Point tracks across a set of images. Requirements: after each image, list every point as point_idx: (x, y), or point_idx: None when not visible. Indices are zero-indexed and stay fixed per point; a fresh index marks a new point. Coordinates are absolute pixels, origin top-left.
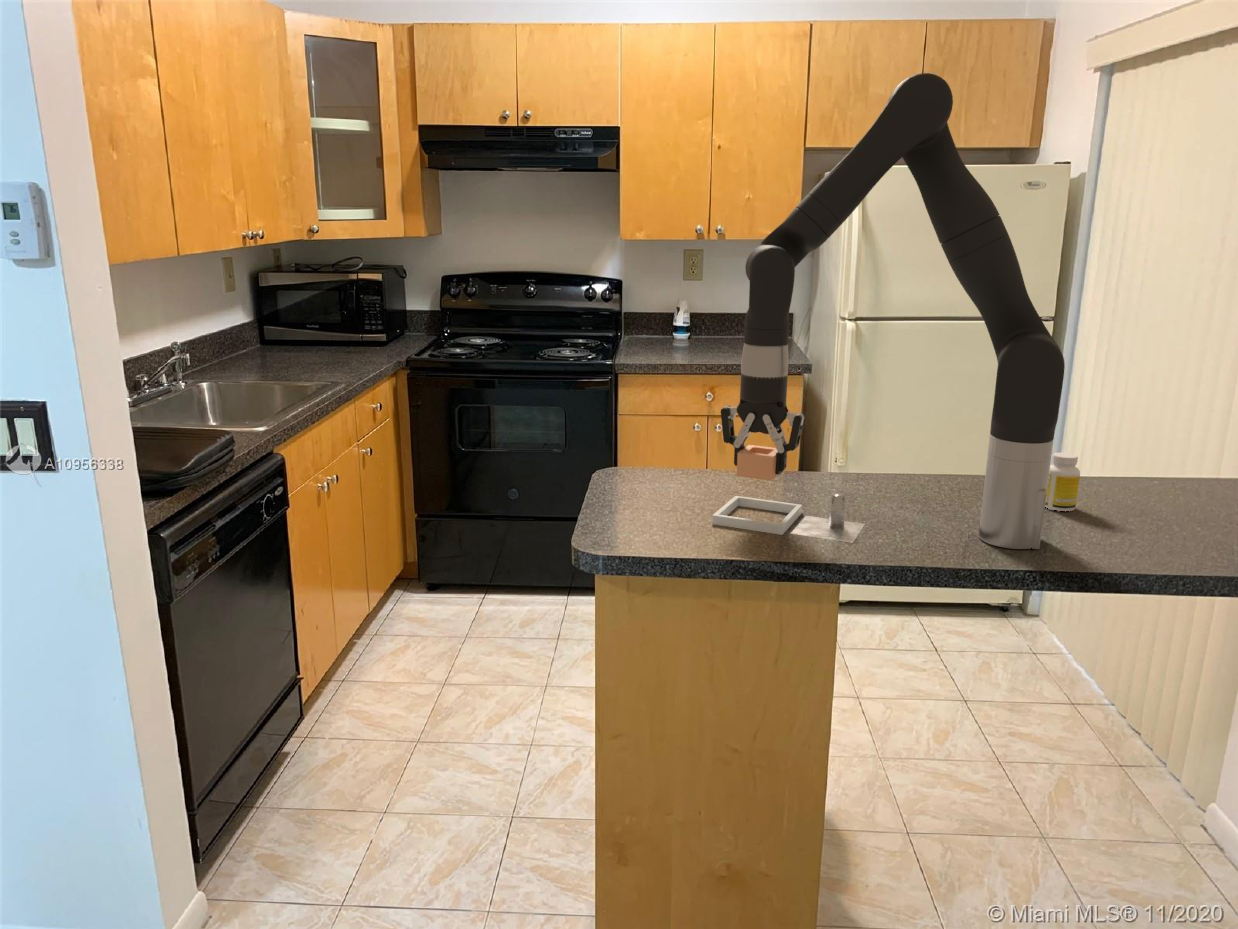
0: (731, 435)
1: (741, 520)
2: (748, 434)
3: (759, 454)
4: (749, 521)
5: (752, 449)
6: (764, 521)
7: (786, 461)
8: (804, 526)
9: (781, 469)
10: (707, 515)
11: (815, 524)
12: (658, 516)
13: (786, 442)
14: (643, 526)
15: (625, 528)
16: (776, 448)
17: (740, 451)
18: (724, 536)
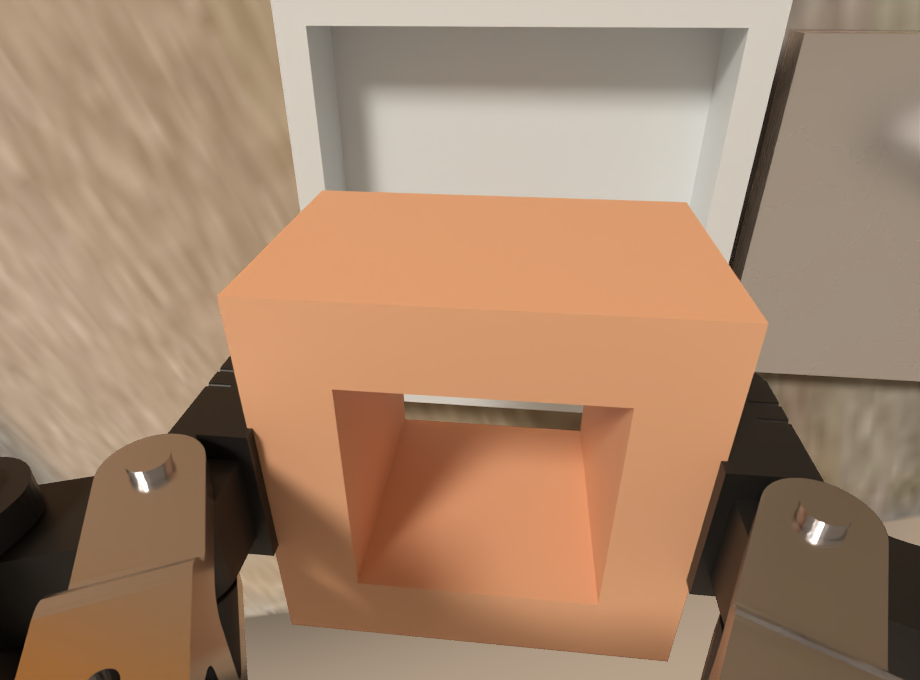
0: (12, 613)
1: (474, 402)
2: (220, 632)
3: (510, 622)
4: (515, 406)
5: (341, 405)
6: None
7: (786, 421)
8: (792, 249)
9: None
10: (228, 176)
11: (862, 189)
12: (58, 284)
13: (881, 591)
14: (100, 410)
15: (67, 447)
16: (708, 653)
17: (292, 583)
18: (426, 408)
